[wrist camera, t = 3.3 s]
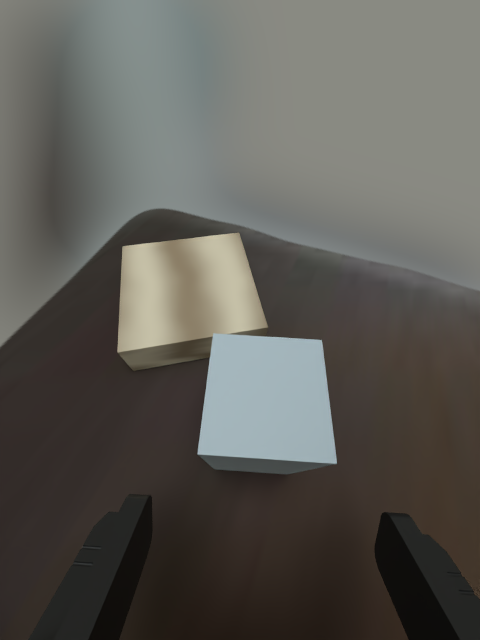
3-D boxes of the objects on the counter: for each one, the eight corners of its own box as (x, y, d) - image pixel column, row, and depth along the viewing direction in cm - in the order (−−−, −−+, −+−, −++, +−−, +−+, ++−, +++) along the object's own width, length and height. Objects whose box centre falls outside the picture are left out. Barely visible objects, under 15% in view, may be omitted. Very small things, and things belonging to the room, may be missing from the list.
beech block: (238, 258, 29) (238, 232, 26) (263, 347, 23) (267, 327, 20) (134, 272, 27) (122, 246, 24) (133, 370, 21) (117, 352, 18)
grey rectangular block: (285, 400, 20) (321, 340, 12) (287, 474, 18) (336, 463, 9) (221, 396, 20) (213, 333, 12) (214, 469, 18) (197, 454, 9)
